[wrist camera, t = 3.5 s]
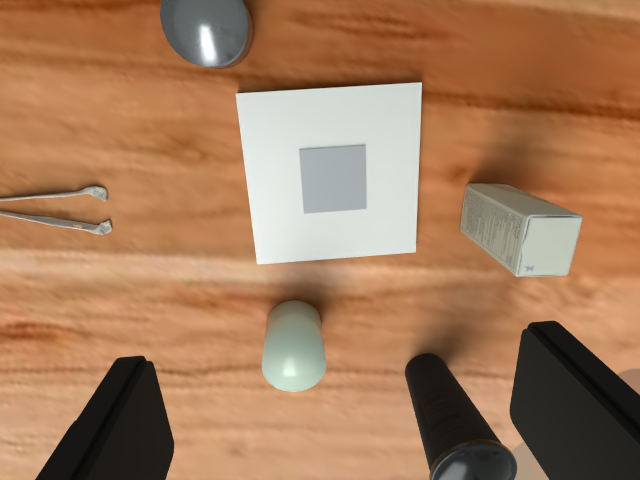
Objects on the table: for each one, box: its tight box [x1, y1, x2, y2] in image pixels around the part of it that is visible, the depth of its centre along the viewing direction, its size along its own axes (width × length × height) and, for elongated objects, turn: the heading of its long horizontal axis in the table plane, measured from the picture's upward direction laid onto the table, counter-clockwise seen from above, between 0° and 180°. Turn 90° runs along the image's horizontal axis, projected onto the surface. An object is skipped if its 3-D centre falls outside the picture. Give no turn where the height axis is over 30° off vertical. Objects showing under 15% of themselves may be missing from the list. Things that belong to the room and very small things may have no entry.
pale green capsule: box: [262, 300, 326, 392], centre depth 40 cm, size 6×6×7 cm
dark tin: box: [160, 0, 254, 69], centre depth 30 cm, size 6×6×5 cm
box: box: [460, 183, 583, 277], centre depth 34 cm, size 5×4×11 cm
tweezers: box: [0, 186, 112, 235], centre depth 37 cm, size 17×5×2 cm, turn 87°
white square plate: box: [236, 82, 422, 265], centre depth 37 cm, size 16×16×1 cm
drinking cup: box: [405, 354, 517, 480], centre depth 37 cm, size 8×8×20 cm
